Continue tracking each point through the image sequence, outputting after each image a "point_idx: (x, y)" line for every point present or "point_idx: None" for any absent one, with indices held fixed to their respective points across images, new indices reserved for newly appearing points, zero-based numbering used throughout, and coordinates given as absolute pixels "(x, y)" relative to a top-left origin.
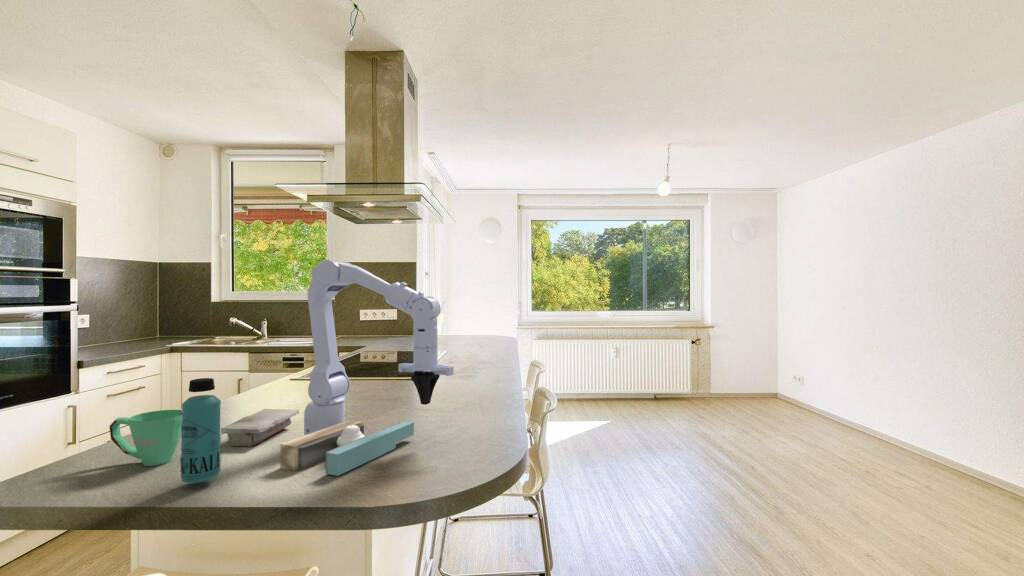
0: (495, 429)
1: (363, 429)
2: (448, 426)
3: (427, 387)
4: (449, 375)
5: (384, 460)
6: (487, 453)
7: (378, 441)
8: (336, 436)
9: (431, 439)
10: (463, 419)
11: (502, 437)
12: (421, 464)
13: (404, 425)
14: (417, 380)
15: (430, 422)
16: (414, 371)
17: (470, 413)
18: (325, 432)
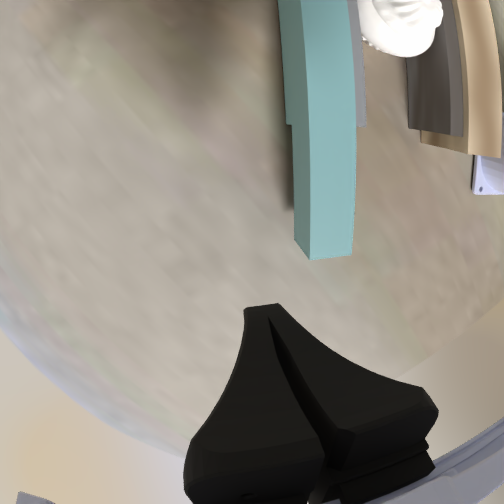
0: (145, 410)
1: (441, 131)
2: None
3: (225, 390)
4: (19, 495)
5: (243, 24)
6: (13, 256)
7: (296, 17)
8: None
9: (242, 274)
10: None
11: (82, 373)
12: (100, 61)
13: (318, 204)
14: (344, 404)
15: None
16: (434, 468)
17: None
18: (472, 11)
